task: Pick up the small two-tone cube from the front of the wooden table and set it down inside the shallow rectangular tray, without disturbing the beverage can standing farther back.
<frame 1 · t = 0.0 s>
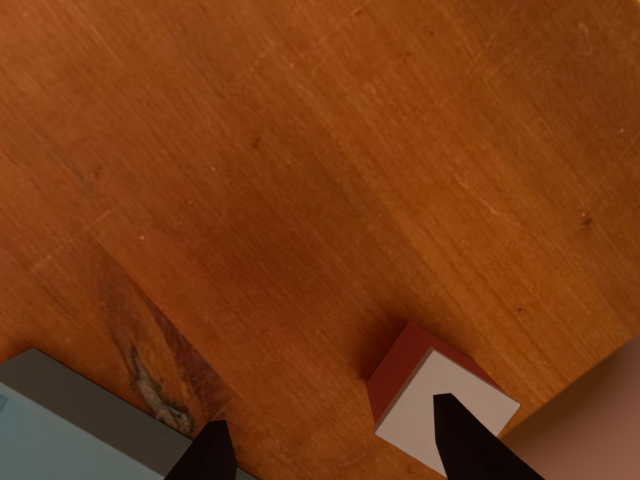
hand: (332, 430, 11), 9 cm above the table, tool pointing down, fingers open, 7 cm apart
shallow rectangular tray: (113, 476, 21), on the table
two-tone cube: (419, 372, 20), on the table
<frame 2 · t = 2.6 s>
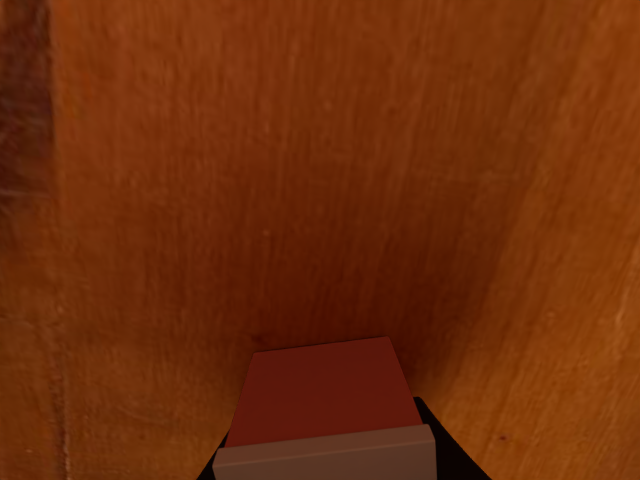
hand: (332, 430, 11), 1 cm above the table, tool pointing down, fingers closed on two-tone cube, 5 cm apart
two-tone cube: (329, 400, 12), on the table, touching gripper
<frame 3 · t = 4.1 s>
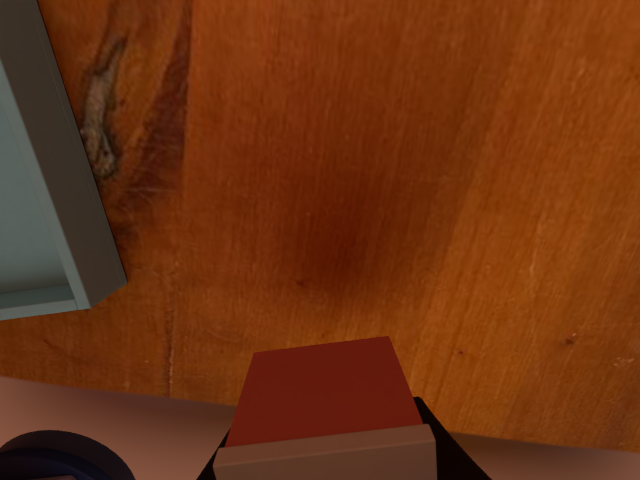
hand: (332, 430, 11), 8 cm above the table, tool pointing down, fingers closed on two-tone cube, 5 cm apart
two-tone cube: (329, 399, 12), point 7 cm above the table, touching gripper
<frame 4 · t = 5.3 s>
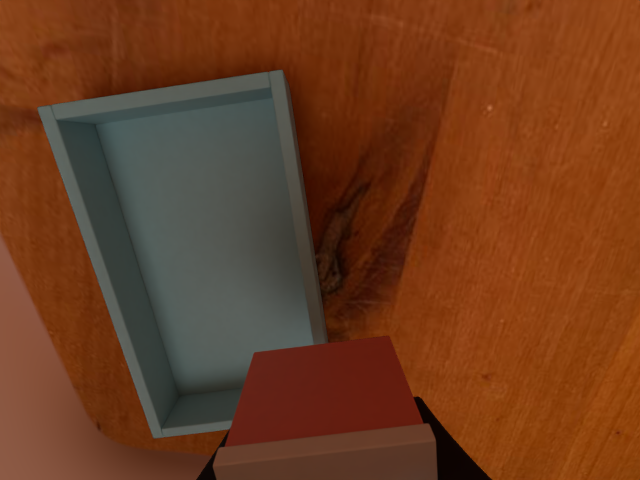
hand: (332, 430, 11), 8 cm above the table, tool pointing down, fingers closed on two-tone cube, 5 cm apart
shallow rectangular tray: (225, 261, 18), on the table
two-tone cube: (329, 399, 12), point 7 cm above the table, touching gripper
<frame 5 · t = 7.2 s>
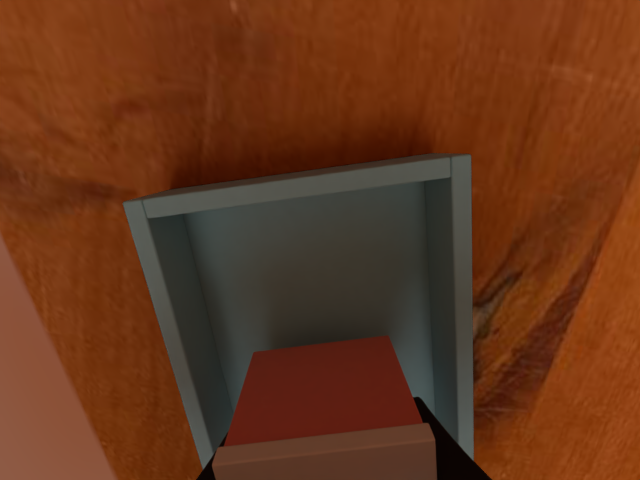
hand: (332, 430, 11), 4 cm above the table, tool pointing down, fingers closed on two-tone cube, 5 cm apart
shallow rectangular tray: (328, 364, 14), on the table
two-tone cube: (329, 399, 12), point 2 cm above the table, touching gripper
when the fingers open (2 cm above the table, at t = 8.3 s): two-tone cube stays where it is, resting on shallow rectangular tray.
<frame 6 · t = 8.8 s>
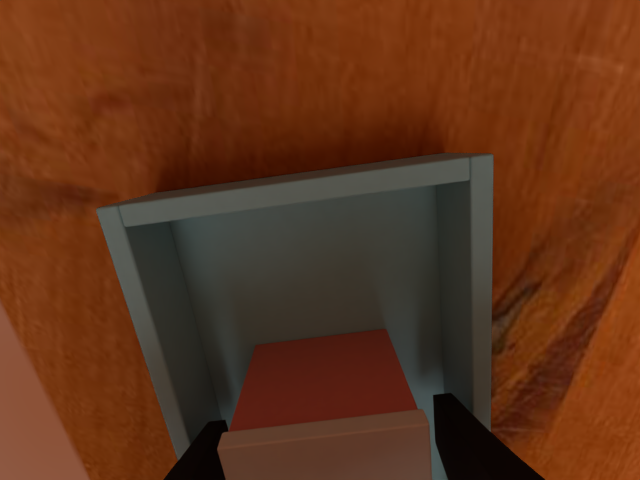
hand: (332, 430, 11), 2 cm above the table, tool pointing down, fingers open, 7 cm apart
shallow rectangular tray: (329, 381, 13), on the table
two-tone cube: (328, 391, 13), point 1 cm above the table, touching shallow rectangular tray
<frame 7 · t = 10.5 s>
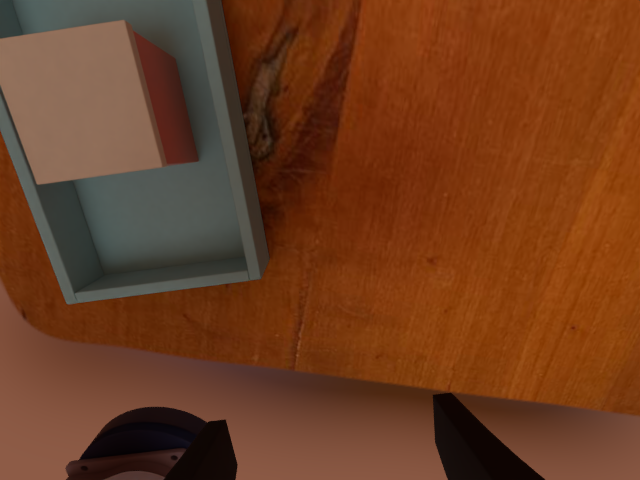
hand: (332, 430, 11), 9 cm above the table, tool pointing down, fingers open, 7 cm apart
shallow rectangular tray: (147, 120, 17), on the table
two-tone cube: (140, 118, 16), point 1 cm above the table, touching shallow rectangular tray
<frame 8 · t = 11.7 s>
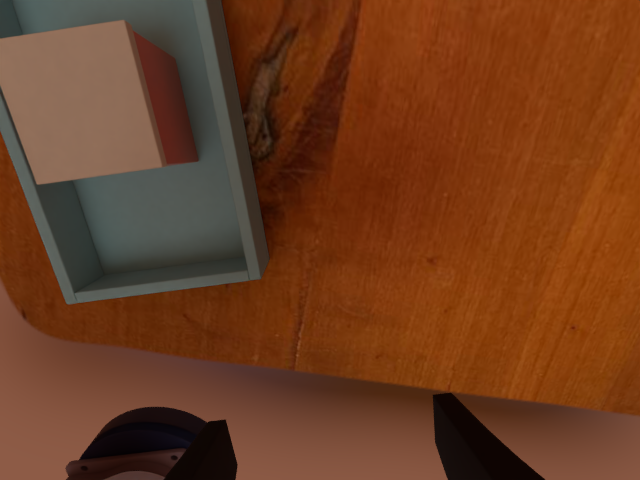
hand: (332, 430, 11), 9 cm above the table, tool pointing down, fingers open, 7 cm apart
shallow rectangular tray: (147, 120, 17), on the table
two-tone cube: (140, 118, 16), point 1 cm above the table, touching shallow rectangular tray
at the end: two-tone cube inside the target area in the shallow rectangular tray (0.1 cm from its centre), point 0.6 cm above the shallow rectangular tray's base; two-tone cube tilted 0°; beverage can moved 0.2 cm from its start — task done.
